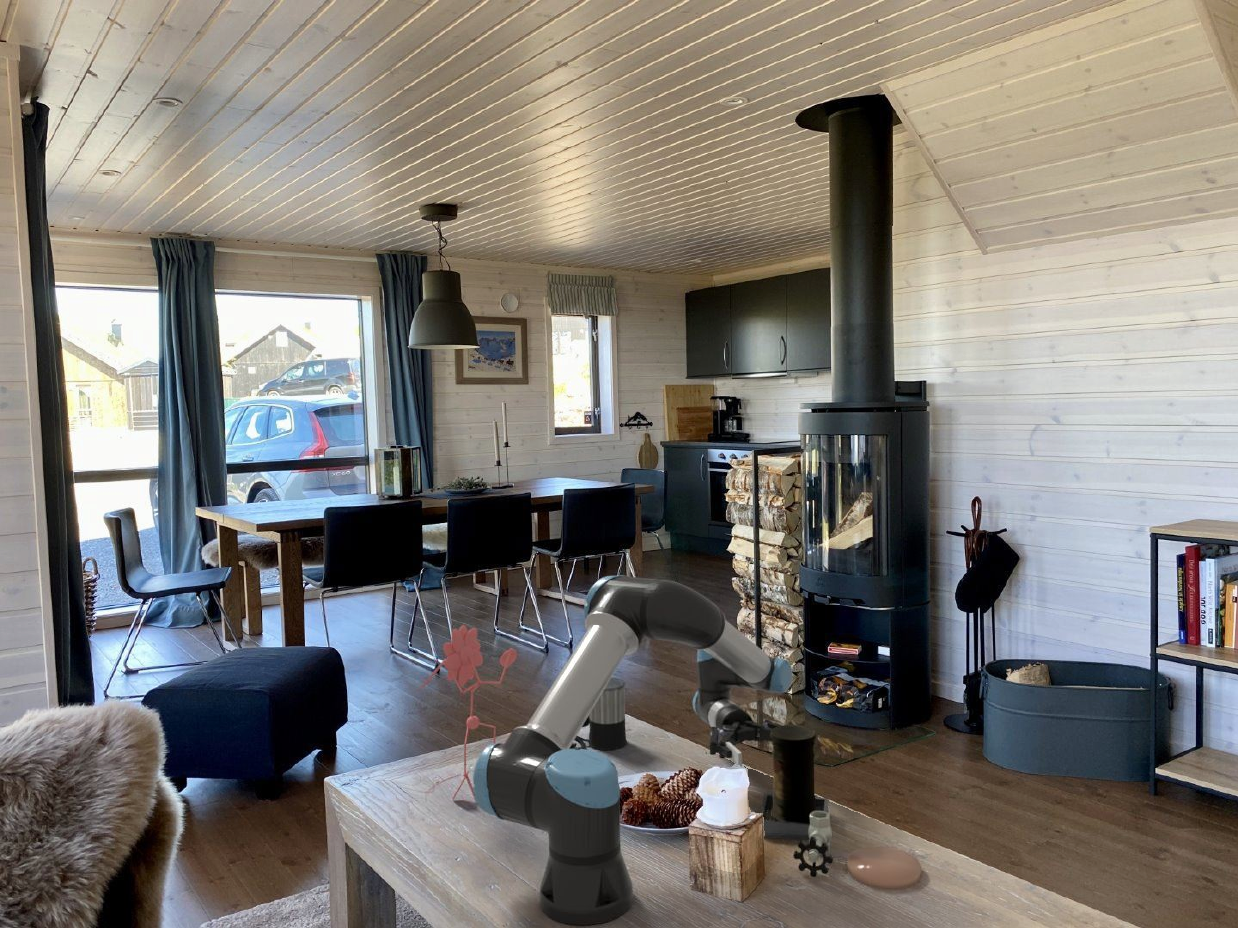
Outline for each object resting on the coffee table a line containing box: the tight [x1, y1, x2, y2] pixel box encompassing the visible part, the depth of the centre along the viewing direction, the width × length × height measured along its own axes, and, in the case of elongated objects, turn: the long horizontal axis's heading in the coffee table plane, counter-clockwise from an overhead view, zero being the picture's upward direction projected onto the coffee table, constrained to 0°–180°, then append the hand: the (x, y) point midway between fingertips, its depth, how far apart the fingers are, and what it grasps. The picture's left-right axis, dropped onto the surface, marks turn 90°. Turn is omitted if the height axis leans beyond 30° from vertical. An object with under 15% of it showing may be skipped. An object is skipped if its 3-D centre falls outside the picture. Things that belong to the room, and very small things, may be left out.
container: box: [770, 724, 817, 823], centre depth 177 cm, size 9×9×18 cm
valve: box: [792, 811, 834, 878], centre depth 163 cm, size 7×7×12 cm
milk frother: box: [569, 677, 628, 751], centre depth 221 cm, size 14×16×15 cm
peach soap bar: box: [846, 845, 922, 890], centre depth 159 cm, size 12×12×2 cm
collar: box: [759, 793, 829, 842], centre depth 177 cm, size 12×12×3 cm
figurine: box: [418, 624, 518, 802], centre depth 199 cm, size 15×26×35 cm, turn 148°
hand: (772, 755), depth 186 cm, fingers open, 13 cm apart
